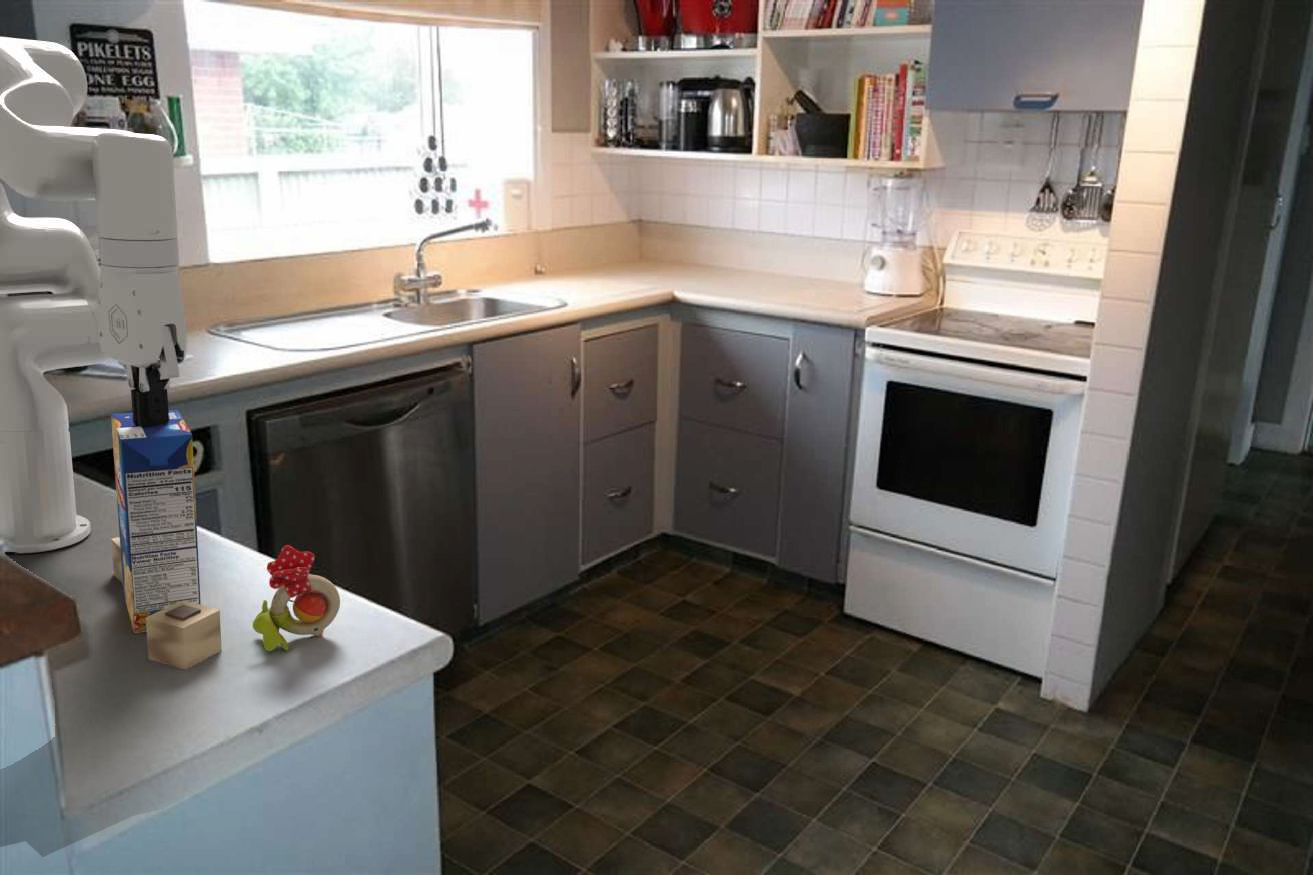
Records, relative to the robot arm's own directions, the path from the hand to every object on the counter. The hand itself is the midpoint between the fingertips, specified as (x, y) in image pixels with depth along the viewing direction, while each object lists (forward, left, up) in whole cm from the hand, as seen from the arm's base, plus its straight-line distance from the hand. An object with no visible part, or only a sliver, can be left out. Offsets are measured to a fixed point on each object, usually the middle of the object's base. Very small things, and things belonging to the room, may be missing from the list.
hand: (151, 424), depth 117 cm
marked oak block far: (-10, +3, -22) cm, 25 cm away
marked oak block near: (+12, -4, -22) cm, 25 cm away
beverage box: (0, 0, -22) cm, 22 cm away
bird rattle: (+17, +6, -22) cm, 29 cm away
